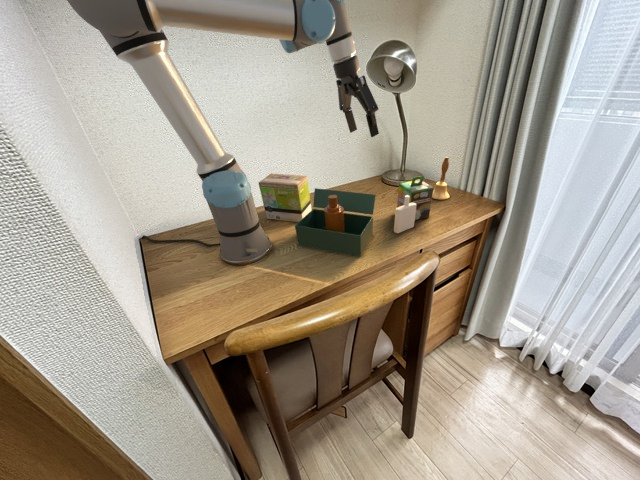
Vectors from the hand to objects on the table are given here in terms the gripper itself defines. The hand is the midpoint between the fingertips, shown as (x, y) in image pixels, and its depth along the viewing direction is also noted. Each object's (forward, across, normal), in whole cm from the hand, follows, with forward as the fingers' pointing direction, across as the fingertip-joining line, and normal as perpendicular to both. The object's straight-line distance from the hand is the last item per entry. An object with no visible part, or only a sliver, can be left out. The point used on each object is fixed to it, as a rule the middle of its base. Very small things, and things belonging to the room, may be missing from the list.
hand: (363, 133), depth 90 cm
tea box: (+18, +10, +35) cm, 41 cm away
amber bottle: (+20, -16, +29) cm, 39 cm away
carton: (+20, -16, +29) cm, 39 cm away
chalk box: (+30, -16, -3) cm, 34 cm away
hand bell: (+36, -8, -23) cm, 43 cm away
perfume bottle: (+27, -22, +7) cm, 36 cm away
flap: (+11, -12, +20) cm, 26 cm away
